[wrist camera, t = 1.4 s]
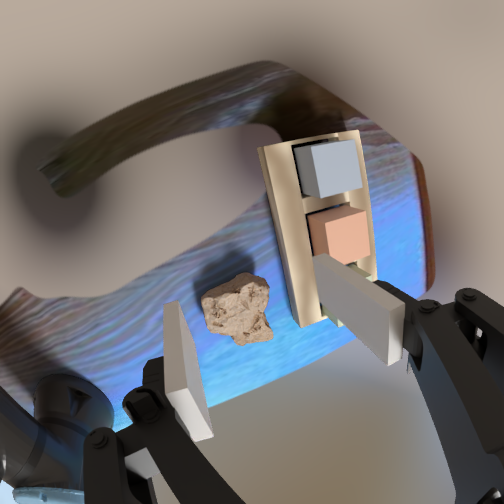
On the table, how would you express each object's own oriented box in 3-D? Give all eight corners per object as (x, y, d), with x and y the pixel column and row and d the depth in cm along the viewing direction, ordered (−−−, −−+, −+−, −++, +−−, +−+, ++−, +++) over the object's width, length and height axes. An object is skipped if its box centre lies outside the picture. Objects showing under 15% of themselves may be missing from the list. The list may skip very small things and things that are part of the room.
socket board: (293, 318, 47) (300, 328, 44) (256, 147, 38) (263, 146, 35) (367, 289, 49) (377, 296, 46) (347, 131, 40) (358, 129, 38)
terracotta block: (314, 257, 42) (331, 269, 37) (307, 215, 40) (324, 223, 35) (350, 245, 43) (370, 254, 38) (345, 204, 41) (365, 210, 36)
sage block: (322, 311, 45) (338, 327, 40) (317, 276, 43) (334, 290, 38) (355, 298, 46) (373, 311, 41) (352, 263, 44) (371, 275, 39)
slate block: (303, 193, 39) (320, 198, 34) (293, 148, 37) (310, 146, 32) (341, 183, 40) (362, 187, 35) (334, 140, 38) (354, 139, 33)
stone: (260, 266, 43) (271, 279, 38) (265, 334, 47) (275, 352, 42) (197, 276, 41) (200, 290, 37) (208, 345, 45) (213, 364, 40)
